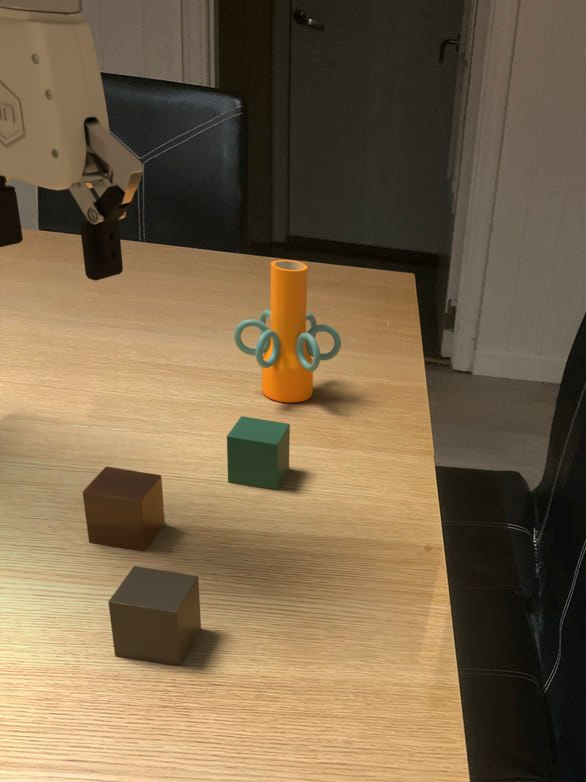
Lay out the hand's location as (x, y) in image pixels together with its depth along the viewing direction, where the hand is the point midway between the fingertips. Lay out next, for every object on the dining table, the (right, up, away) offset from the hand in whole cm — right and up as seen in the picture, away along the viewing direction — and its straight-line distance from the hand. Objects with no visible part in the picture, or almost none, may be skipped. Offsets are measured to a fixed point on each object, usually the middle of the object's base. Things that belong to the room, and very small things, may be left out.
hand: (53, 260), depth 71 cm
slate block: (+7, -29, +2) cm, 30 cm away
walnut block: (+1, -19, +13) cm, 23 cm away
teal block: (+10, -12, +25) cm, 30 cm away
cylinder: (+9, +1, +42) cm, 44 cm away
